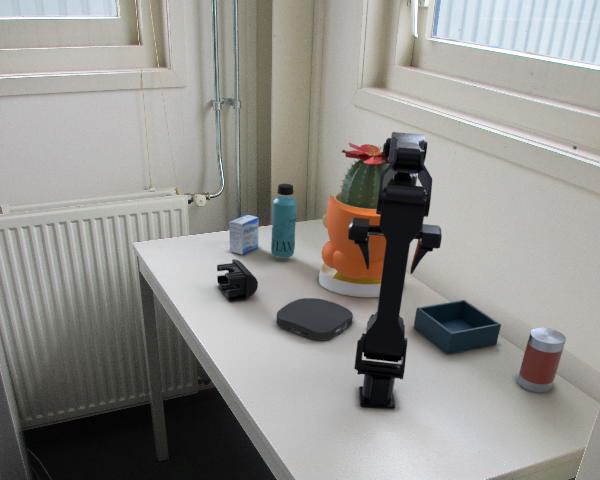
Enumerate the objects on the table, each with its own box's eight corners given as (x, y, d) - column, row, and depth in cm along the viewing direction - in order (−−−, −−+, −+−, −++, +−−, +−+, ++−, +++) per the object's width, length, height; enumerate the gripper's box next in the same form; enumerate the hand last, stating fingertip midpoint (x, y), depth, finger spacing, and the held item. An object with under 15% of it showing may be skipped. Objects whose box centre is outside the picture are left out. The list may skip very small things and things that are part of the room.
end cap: (258, 299, 162) (258, 273, 158) (229, 303, 159) (229, 276, 156) (243, 283, 169) (244, 257, 166) (216, 286, 167) (216, 260, 163)
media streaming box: (306, 303, 161) (306, 292, 160) (358, 321, 155) (359, 310, 153) (269, 325, 151) (269, 312, 149) (323, 345, 144) (324, 333, 143)
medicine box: (242, 255, 185) (242, 224, 180) (229, 251, 187) (228, 221, 182) (258, 247, 190) (259, 217, 186) (245, 243, 192) (246, 213, 188)
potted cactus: (317, 268, 180) (327, 130, 161) (400, 272, 181) (420, 135, 161) (319, 302, 162) (330, 152, 143) (411, 307, 163) (435, 158, 143)
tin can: (555, 393, 133) (570, 344, 127) (521, 391, 133) (535, 342, 127) (546, 376, 138) (560, 328, 132) (513, 374, 138) (526, 326, 132)
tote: (496, 344, 149) (501, 324, 146) (447, 354, 144) (451, 333, 141) (460, 319, 159) (464, 299, 156) (413, 327, 154) (416, 307, 151)
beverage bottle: (267, 260, 182) (269, 186, 171) (275, 252, 188) (277, 179, 177) (290, 264, 181) (293, 189, 170) (297, 256, 186) (301, 183, 175)
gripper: (445, 189, 139) (432, 259, 149) (355, 181, 141) (348, 250, 150) (447, 209, 131) (434, 281, 140) (351, 200, 132) (344, 272, 141)
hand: (389, 270), depth 143 cm, fingers open, 9 cm apart
